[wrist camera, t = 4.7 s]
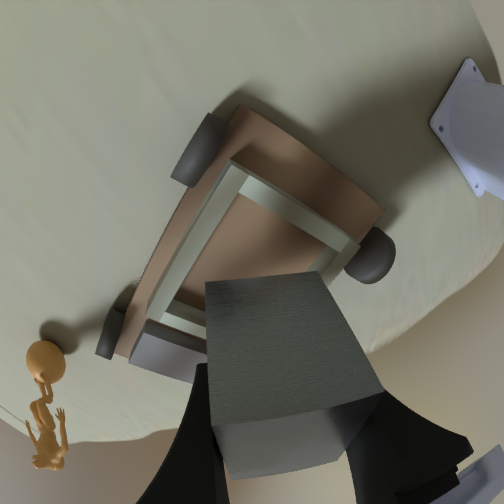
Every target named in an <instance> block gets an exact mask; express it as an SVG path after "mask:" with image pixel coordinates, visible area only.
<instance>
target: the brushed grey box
mask: <svg viewBox="0 0 504 504" xmlns="http://www.w3.org/2000/svg"><path fill="white" fill-rule="evenodd" d="M205 312H206V342H207V365H208V383H209V399H210V413H211V426H212V429H213V432H214V434H215V437H216V440H217V443H218V446H219V448H220V451H221V454H222V457H223V459H224V462H225V464H226V467H227V470H228V472H229V474H230V477H231V479H232V480H237V479H248V478H256V477H263V476H270V475H276V474H282V473H287V472H292V471H297V470H302V469H306V468H310V467H315V466H319V465H322V464H326V463H330V462H334V461H337V460H338V459H339V457H340V456H341V455H342V454H343V452H344V451H345V450H346V448H347V447H348V446H349V444H350V443H351V442H352V440H353V439H354V438H355V436H356V435H357V433H358V432H359V431H360V429H361V428H362V426H363V425H364V423H365V422H366V420H367V419H368V417H369V416H370V414H371V413H372V411H373V410H374V408H375V406H376V405H377V403H378V402H379V400H380V398H381V397H382V395H383V393H384V392H385V390H384V389H383V387H382V385H381V383H380V381H379V379H378V377H377V375H376V373H375V372H374V370H373V368H372V366H371V364H370V362H369V361H368V359H367V357H366V355H365V353H364V351H363V349H362V348H361V346H360V344H359V342H358V340H357V339H356V337H355V335H354V333H353V331H352V330H351V328H350V326H349V324H348V323H347V321H346V319H345V317H344V316H343V314H342V312H341V310H340V309H339V307H338V305H337V303H336V302H335V300H334V298H333V297H332V295H331V293H330V292H329V290H328V288H327V286H326V285H325V283H324V281H323V280H322V278H321V276H320V275H319V273H318V271H310V272H301V273H292V274H282V275H273V276H263V277H253V278H243V279H233V280H222V281H211V282H205Z"/></svg>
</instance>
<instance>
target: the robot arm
mask: <svg viewBox="0 0 504 504" xmlns="http://www.w3.org/2000/svg"><path fill="white" fill-rule="evenodd" d="M430 126H431V128H432V130H433V131H434V132H435V134H436V135H437V136H438V138H439V139H440V140H441V142H442V143H443V145H444V146H445V147H446V149H447V150H448V152H449V153H450V155H451V156H452V158H453V159H454V161H455V162H456V164H457V165H458V167H459V168H460V170H461V171H462V173H463V175H464V176H465V178H466V179H467V181H468V183H469V184H470V186H471V188H472V190H473V191H474V193H475V195H476V196H478V197H481V196H482V195H483V193H484V191H485V190H486V191H488V192H490V193H491V194H493V195H495V196H497V197H498V198H500V199H502V200H504V85H500V84H495V83H489V82H486V81H485V79H484V77H483V76H482V74H481V72H480V71H479V69H478V67H477V66H476V64H475V63H474V61H473V60H472V59H471V58H466V59H465V61H464V63H463V65H462V67H461V69H460V70H459V72H458V74H457V76H456V78H455V79H454V81H453V83H452V85H451V86H450V88H449V90H448V92H447V93H446V95H445V97H444V98H443V100H442V102H441V103H440V105H439V107H438V108H437V110H436V112H435V113H434V115H433V116H432V118H431V120H430ZM439 127H440V131H439ZM383 389H384V388H383ZM384 390H385V389H384ZM473 452H474V450H473V449H472V446H471V445H470V443H469V441H468V439H467V438H466V437H465V436H462V435H459V434H457V433H454V432H451V431H449V430H446V429H444V428H442V427H440V426H438V425H436V424H434V423H432V422H431V421H429V420H427V419H425V418H424V417H422V416H420V415H418V414H417V413H415V412H414V411H412V410H411V409H409V408H408V407H407V406H405V405H404V404H402V403H401V402H400V401H399V400H397V399H396V398H395V397H394V396H392V395H391V394H390V393H389V392H388V391H386V390H385V392H384V393H383V395H382V397H381V398H380V400H379V402H378V403H377V405H376V406H375V408H374V410H373V411H372V413H371V414H370V416H369V417H368V419H367V420H366V422H365V423H364V425H363V426H362V428H361V429H360V431H359V432H358V433H357V435H356V436H355V438H354V439H353V440H352V442H351V443H350V444H349V446H348V447H347V448H346V453H347V457H348V461H349V465H350V469H351V473H352V479H353V484H354V489H355V495H356V503H357V504H489V503H490V502H491V501H492V500H493V499H494V498H495V497H496V496H497V495H498V494H499V493H500V492H501V491H502V490H503V489H504V452H503V450H502V448H501V446H500V445H499V444H498V445H497V446H495V447H494V448H493V449H492V450H490V451H489V452H488V453H487V454H485V455H484V456H482V457H481V458H479V459H478V460H476V461H475V462H473V463H472V464H470V465H469V466H468V467H466V468H465V469H463V470H462V471H461V472H459V473H458V475H456V473H455V472H457V471H458V468H457V464H459V463H460V462H462V461H463V460H464V459H466V458H467V457H469V456H470V455H471V454H473ZM136 504H230V503H229V498H228V491H227V484H226V478H225V471H224V463H223V457H222V454H221V451H220V448H219V446H218V443H217V440H216V437H215V434H214V432H213V429H212V426H211V413H210V399H209V383H208V365H207V363H198V364H197V365H196V372H195V377H194V382H193V386H192V390H191V394H190V398H189V401H188V404H187V407H186V411H185V413H184V416H183V419H182V422H181V424H180V427H179V429H178V432H177V434H176V437H175V439H174V441H173V443H172V446H171V448H170V450H169V452H168V454H167V456H166V458H165V459H164V461H163V463H162V465H161V467H160V469H159V471H158V472H157V474H156V475H155V477H154V479H153V480H152V482H151V483H150V485H149V486H148V488H147V489H146V491H145V492H144V494H143V495H142V496H141V497H140V499H139V500H138V501H137V503H136Z"/></svg>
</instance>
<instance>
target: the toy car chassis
mask: <svg viewBox="0 0 504 504" xmlns="http://www.w3.org/2000/svg"><path fill="white" fill-rule="evenodd" d="M171 178H173V179H175V180H177V181H179V182H180V183H182V184H184V185H186V186H188V188H187V190H186V192H185V193H184V195H183V197H182V199H181V200H180V202H179V204H178V206H177V208H176V210H175V211H174V213H173V215H172V217H171V219H170V221H169V223H168V224H167V226H166V228H165V230H164V232H163V234H162V236H161V238H160V240H159V242H158V244H157V246H156V248H155V250H154V252H153V254H152V256H151V258H150V260H149V262H148V264H147V266H146V268H145V270H144V272H143V274H142V277H141V279H140V281H139V283H138V285H137V287H136V290H135V292H134V294H133V296H132V298H131V301H130V303H129V305H128V308H127V310H126V312H125V314H123V313H121V312H118V311H116V310H114V309H112V308H110V310H109V313H108V315H107V318H106V321H105V324H104V327H103V330H102V333H101V336H100V339H99V342H98V345H97V349H96V352H95V354H96V355H99V356H101V357H104V358H106V359H109V360H111V359H112V356H113V354H114V353H116V354H118V355H121V356H123V357H126V358H129V362H128V363H130V364H132V365H135V366H138V367H141V368H144V369H146V370H149V371H152V372H155V373H158V374H161V375H165V376H168V377H171V378H174V379H178V380H181V381H184V382H188V383H191V384H193V382H194V377H195V372H196V365H197V364H198V363H207V342H206V312H205V282H211V281H222V280H233V279H243V278H253V277H263V276H273V275H282V274H292V273H301V272H310V271H318V273H319V275H320V276H321V278H322V280H323V281H324V283H325V285H326V286H327V287H328V286H329V285H330V284H331V283H332V281H333V280H334V279H335V278H336V277H337V276H338V274H339V273H340V272H341V271H342V270H343V268H344V270H345V272H346V273H347V274H348V275H349V276H351V277H353V278H354V279H356V280H358V281H360V282H361V283H364V284H373V283H376V282H378V281H379V280H381V279H382V278H383V277H384V276H385V275H386V274H387V273H388V272H389V270H390V269H391V267H392V265H393V263H394V260H395V254H396V249H395V244H394V242H393V240H392V239H391V238H390V237H389V236H388V235H387V234H385V233H384V232H383V231H382V230H380V229H379V228H377V227H374V226H373V225H374V224H375V222H376V221H377V220H378V218H379V217H380V216H381V214H382V213H383V212H384V210H385V209H384V208H382V207H381V206H380V205H379V204H378V203H377V202H376V201H374V200H373V199H372V198H371V197H370V196H369V195H367V194H366V193H365V192H364V191H363V190H361V189H360V188H359V187H358V186H357V185H355V184H354V183H353V182H352V181H351V180H349V179H348V178H347V177H346V176H344V175H343V174H342V173H341V172H339V171H338V170H337V169H335V168H334V167H333V166H332V165H330V164H329V163H328V162H326V161H325V160H324V159H322V158H321V157H320V156H318V155H317V154H316V153H314V152H313V151H312V150H310V149H309V148H307V147H306V146H305V145H303V144H302V143H300V142H299V141H298V140H296V139H295V138H293V137H292V136H290V135H289V134H287V133H286V132H284V131H283V130H281V129H280V128H279V127H277V126H275V125H274V124H272V123H271V122H269V121H268V120H266V119H265V118H263V117H262V116H260V115H258V114H257V113H255V112H254V111H252V110H250V109H249V108H247V107H245V106H244V105H242V104H240V105H239V106H238V108H237V109H236V111H235V112H234V114H233V115H232V117H231V118H230V120H229V121H228V123H226V122H224V121H223V120H221V119H219V118H217V117H215V116H214V115H212V114H210V113H208V114H207V115H206V117H205V118H204V120H203V121H202V123H201V124H200V126H199V128H198V129H197V131H196V132H195V134H194V136H193V137H192V139H191V141H190V142H189V144H188V146H187V147H186V149H185V151H184V153H183V154H182V156H181V158H180V160H179V161H178V163H177V165H176V167H175V169H174V171H173V173H172V175H171Z"/></svg>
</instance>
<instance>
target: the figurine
mask: <svg viewBox="0 0 504 504" xmlns="http://www.w3.org/2000/svg"><path fill="white" fill-rule="evenodd" d="M26 363H27V367H28V369H29V371H30V373H31V374H32V376H33V377H34V380H35V382H36V383H37V384H38V385H39V387H40V390H41V393H42V398H39V399H38V400H36V401H33V402H32V403H31V404H30V410H31V412H32V414H33V416H34V419H35V421H36V423H37V427H38V430H39V432H40V433H41V434H40V438H39V439H38V442H37V441H36V439H35V437H34V435H33V433H32V432H31V429H30V425H29V421H28V422H27V420H25V421H26V427H27V429H28V432H29V435H30V437H31V439H32V441H33V443H34V445H35V448H36V450H37V453H38V454H37V455H34V456H33V457H32V458H33V460H34V459H35V461H34V462H32V463H33V465H34V467H35V468H37V469H42V468H49V469H52V470H61V469H63V467H64V458H63V456H64V455H65V453H66V452H67V451H68V442H67V435H66V429H65V414H64V409H63V413H62V410H61V408H60V413H59V411H58V408H57V412H58V415H59V416H57V415H56V414H55V415H56V417H57V418H58V419H59V421H60V435H61V443H62V446H61V447H59V445H58V443H57V441H56V435H55V433H54V431H53V430H54V429H55V427H56V425H55V423H54V420H53V417H52V415H51V414H50V412H49V410H48V408H47V406H46V403H48V404H50V403H52V401H53V399H52V398H53V392H52V388H51V384H52V383H55V382H57V381H59V380H60V379H61V378H62V376H63V375H64V372H65V368H66V363H65V358H64V355H63V353H62V352H61V350H60V349H59V348H58V347H57V346H56V345H55V344H54V343H52V342H50V341H46V340H40V341H37V342H35V343H33V344H32V345H31V346H30V347H29V349H28V351H27V355H26ZM44 385H46V388H47V391H48V394H49V395H46V391H45V386H44Z"/></svg>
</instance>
